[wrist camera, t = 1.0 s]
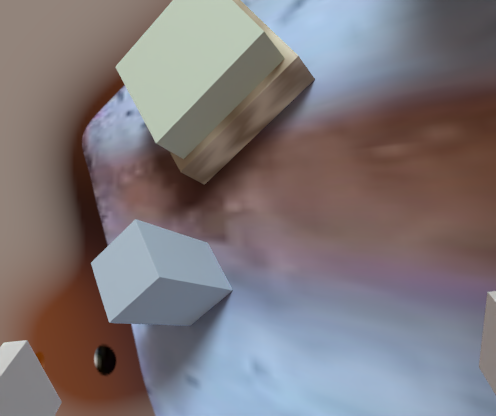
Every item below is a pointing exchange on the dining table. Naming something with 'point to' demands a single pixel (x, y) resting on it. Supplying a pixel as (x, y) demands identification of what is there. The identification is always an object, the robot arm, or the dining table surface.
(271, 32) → the base brick
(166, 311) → the tall brick
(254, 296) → the dining table surface
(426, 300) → the dining table surface
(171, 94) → the top brick
